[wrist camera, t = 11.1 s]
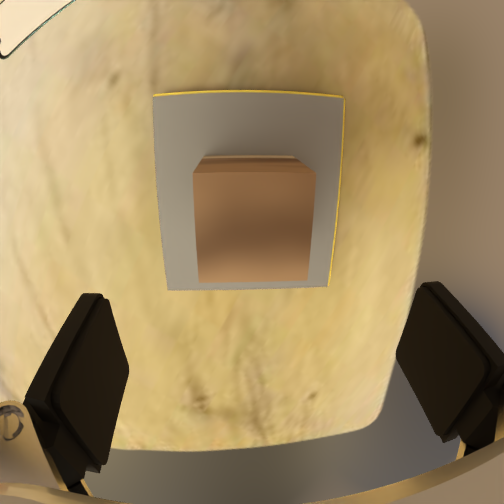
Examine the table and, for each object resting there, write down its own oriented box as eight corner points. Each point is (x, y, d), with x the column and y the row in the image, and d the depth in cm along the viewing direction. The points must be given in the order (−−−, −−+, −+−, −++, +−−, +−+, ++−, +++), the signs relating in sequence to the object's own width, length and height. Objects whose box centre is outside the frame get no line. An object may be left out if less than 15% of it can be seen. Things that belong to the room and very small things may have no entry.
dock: (161, 96, 23) (152, 94, 20) (334, 97, 24) (346, 96, 21) (173, 273, 30) (167, 290, 27) (321, 270, 30) (329, 286, 28)
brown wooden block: (204, 155, 22) (192, 173, 16) (292, 155, 23) (316, 173, 16) (207, 237, 25) (198, 282, 19) (288, 236, 25) (307, 280, 19)
